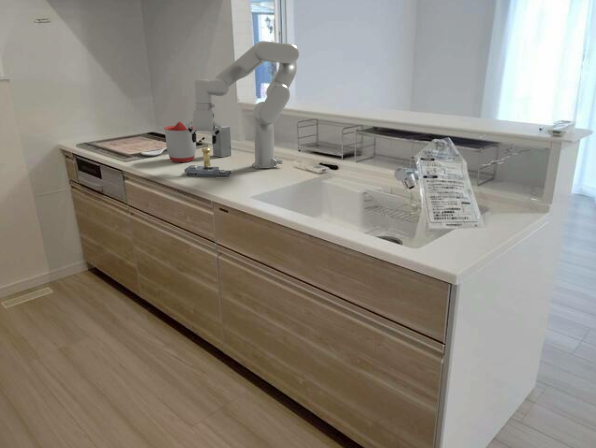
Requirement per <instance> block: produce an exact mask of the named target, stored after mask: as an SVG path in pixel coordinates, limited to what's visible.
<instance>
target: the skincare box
mask: <svg viewBox="0 0 596 448" xmlns="http://www.w3.org/2000/svg"><path fill="white" fill-rule="evenodd" d="M221 126H222V125H221ZM217 130H218V128H217V127H216V128H215V131H217ZM211 136H213V134H212V133H211ZM231 138H232V137H231V126H225V125H224V126H222V128H221V130H220V132H219V133H218V134H217V135H216V139H217V141H216V143H215V144H212V153H213V154H212V155H213V157H217V158H225V157H229V156H232V143H231V142H232V139H231Z"/></svg>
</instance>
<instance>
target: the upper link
mask: <svg viewBox="0 0 596 448" xmlns="http://www.w3.org/2000/svg"><path fill="white" fill-rule="evenodd" d="M219 167H220V166H211V165H210V166H204V165H194V164H192V165H188V166H187V167H186V168H184V172H183V173H186V176H187V177H190V176H191V177H197V173H201V174H215V173H216V172H217V171H218V170H220V168H219Z"/></svg>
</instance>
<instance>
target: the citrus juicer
mask: <svg viewBox="0 0 596 448" xmlns="http://www.w3.org/2000/svg"><path fill="white" fill-rule="evenodd" d="M190 127H191V128H192V130H193V125H190ZM164 134H165V145H166V146H165V147H167V149H166V150H167V155H168V157H169V159H170V161H171V162H176V163H177V162H178V163H187V162H191V161H193V160H194V158H195V155H196V149H197V141H196V142H195V143H193V141H192V134H191V133H190V132H189V130H188V128H187V126H186V125H184V123H183V122H181V121H178V122H177V123H176V124H175V125H169V126H165V127H164Z"/></svg>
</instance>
